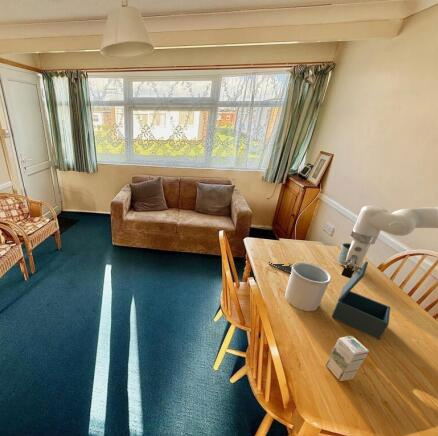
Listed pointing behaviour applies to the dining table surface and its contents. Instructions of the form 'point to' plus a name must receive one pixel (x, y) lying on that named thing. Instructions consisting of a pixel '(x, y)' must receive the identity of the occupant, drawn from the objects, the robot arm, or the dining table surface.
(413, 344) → the dining table surface
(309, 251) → the dining table surface
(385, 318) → the chest
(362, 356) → the syrup box
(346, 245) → the grey-green pot
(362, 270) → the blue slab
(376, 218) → the robot arm
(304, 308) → the utensil holder
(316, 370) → the dining table surface
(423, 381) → the dining table surface
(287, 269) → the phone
